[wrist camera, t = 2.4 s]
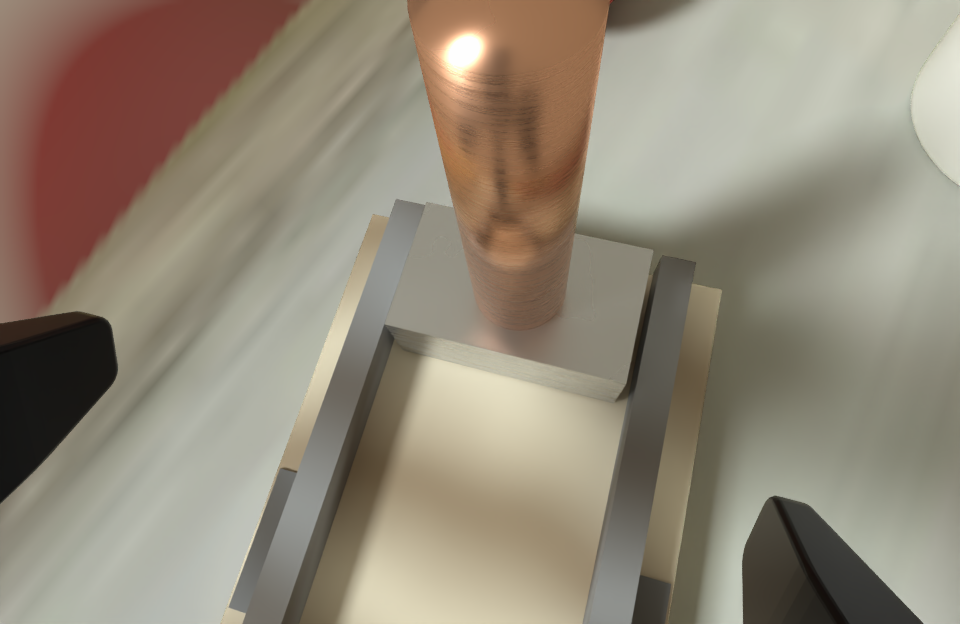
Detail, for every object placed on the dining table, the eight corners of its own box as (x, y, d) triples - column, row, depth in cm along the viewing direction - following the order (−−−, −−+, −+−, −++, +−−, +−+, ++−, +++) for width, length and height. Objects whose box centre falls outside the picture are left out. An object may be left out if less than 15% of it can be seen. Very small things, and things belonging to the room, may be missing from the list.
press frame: (596, 978, 15) (622, 1149, 11) (174, 807, 17) (58, 897, 13) (709, 306, 21) (754, 249, 17) (382, 233, 23) (349, 166, 19)
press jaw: (613, 403, 18) (762, 176, 7) (402, 349, 20) (208, 72, 8) (638, 284, 20) (800, -86, 8) (438, 240, 21) (318, -143, 9)
